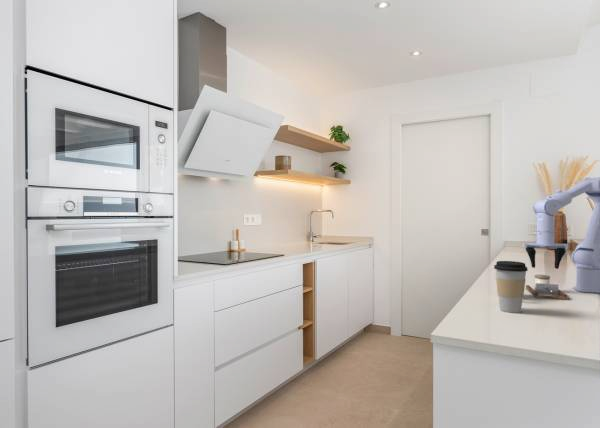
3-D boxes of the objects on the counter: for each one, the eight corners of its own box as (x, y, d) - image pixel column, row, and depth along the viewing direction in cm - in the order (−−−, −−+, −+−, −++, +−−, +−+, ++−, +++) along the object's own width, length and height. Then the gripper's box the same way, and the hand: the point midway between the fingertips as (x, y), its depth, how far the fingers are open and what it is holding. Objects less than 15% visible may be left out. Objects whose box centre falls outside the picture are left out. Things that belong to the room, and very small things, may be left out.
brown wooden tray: (554, 290, 156) (555, 286, 156) (568, 300, 140) (568, 295, 140) (525, 288, 159) (525, 285, 159) (536, 297, 143) (536, 293, 143)
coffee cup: (533, 314, 122) (534, 265, 121) (501, 314, 122) (502, 264, 121) (517, 306, 131) (518, 260, 131) (488, 306, 131) (488, 260, 131)
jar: (547, 290, 156) (547, 275, 156) (551, 293, 151) (551, 277, 151) (532, 289, 157) (533, 274, 157) (536, 292, 153) (536, 276, 152)
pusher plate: (557, 295, 148) (557, 284, 148) (564, 300, 140) (564, 288, 140) (535, 293, 150) (535, 283, 150) (541, 298, 142) (541, 287, 142)
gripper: (564, 231, 153) (563, 267, 153) (521, 230, 157) (520, 265, 158) (570, 232, 146) (569, 270, 147) (525, 231, 151) (525, 268, 151)
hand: (544, 267), depth 152 cm, fingers open, 7 cm apart
